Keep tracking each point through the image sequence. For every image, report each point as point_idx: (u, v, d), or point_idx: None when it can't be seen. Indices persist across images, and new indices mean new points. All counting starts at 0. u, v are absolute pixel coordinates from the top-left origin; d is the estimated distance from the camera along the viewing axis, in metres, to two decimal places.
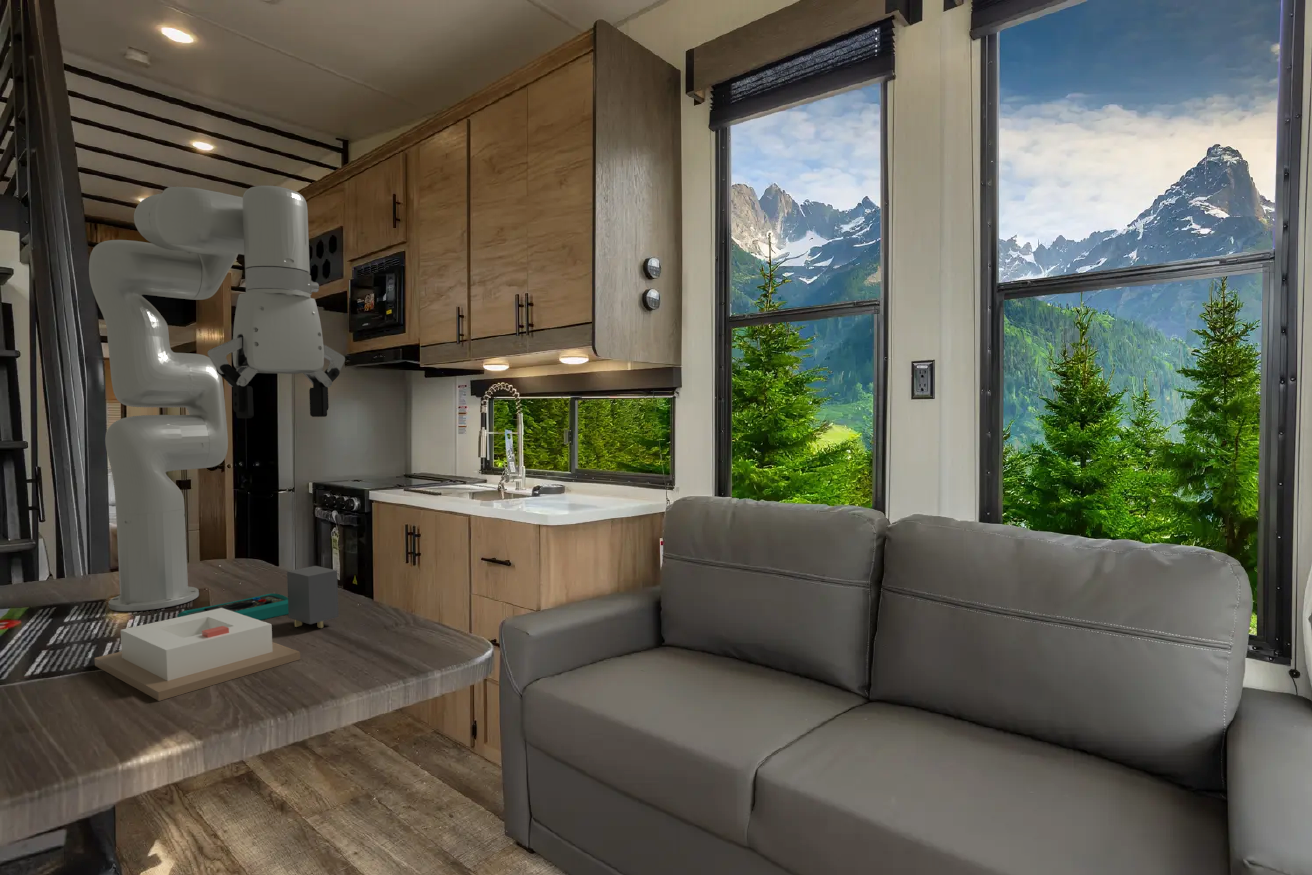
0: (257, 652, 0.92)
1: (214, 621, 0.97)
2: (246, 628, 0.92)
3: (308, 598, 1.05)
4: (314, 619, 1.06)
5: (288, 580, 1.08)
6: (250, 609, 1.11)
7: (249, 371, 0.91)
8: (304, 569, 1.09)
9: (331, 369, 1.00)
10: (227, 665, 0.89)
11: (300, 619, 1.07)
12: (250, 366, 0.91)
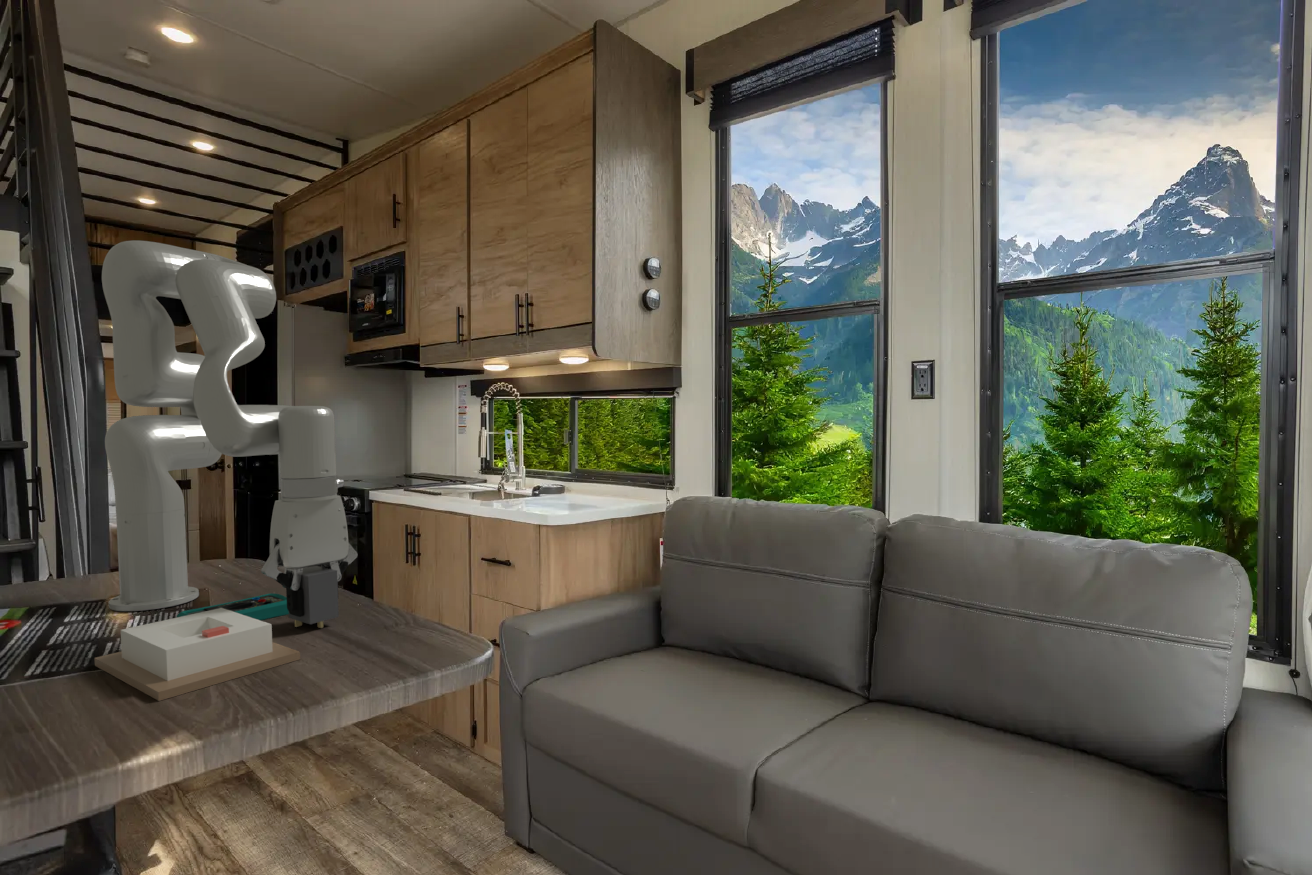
0: (257, 652, 0.92)
1: (214, 621, 0.97)
2: (246, 628, 0.92)
3: (308, 598, 1.05)
4: (314, 619, 1.06)
5: None
6: (249, 609, 1.11)
7: (296, 575, 1.05)
8: (304, 569, 1.09)
9: (340, 563, 1.12)
10: (227, 665, 0.89)
11: (300, 619, 1.07)
12: (295, 572, 1.05)
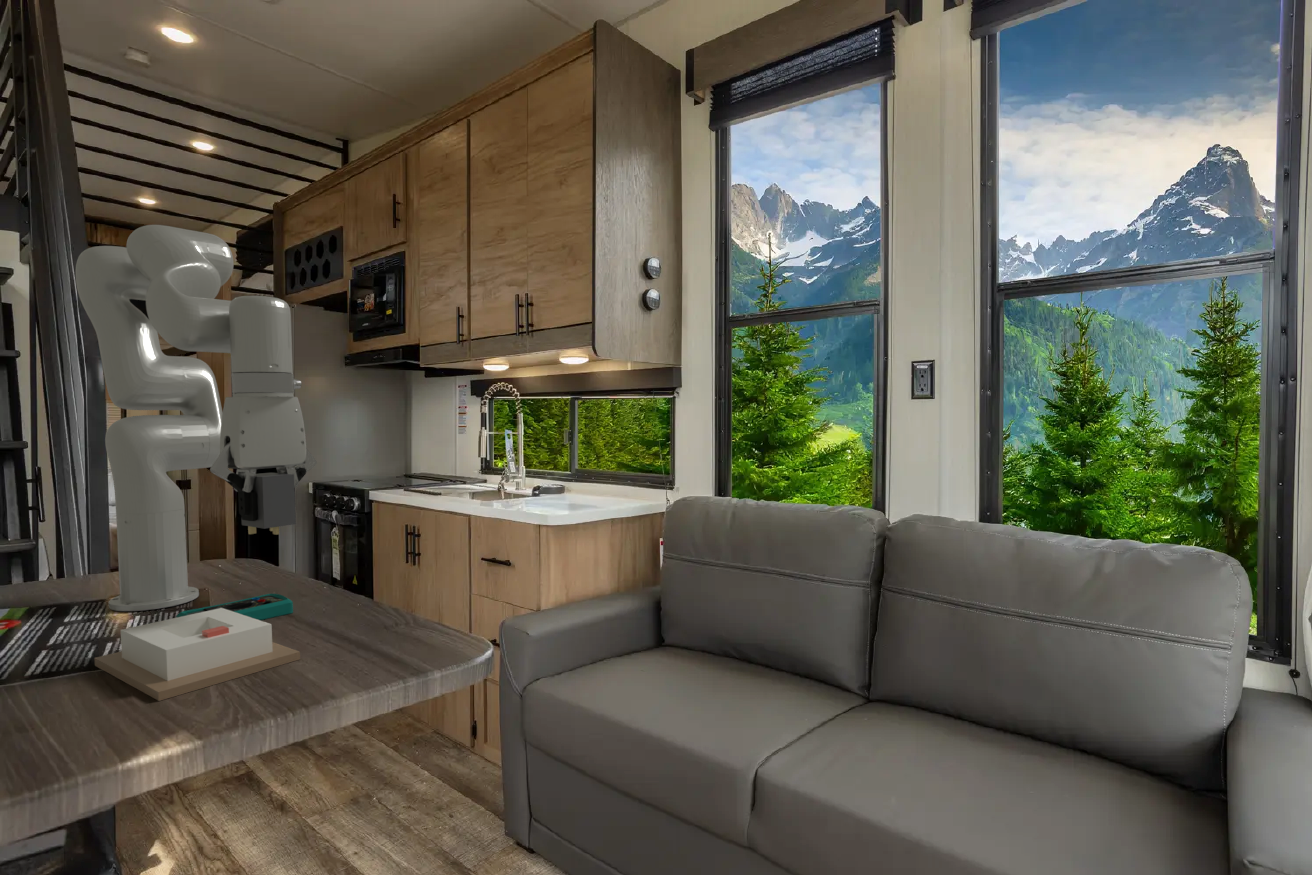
0: (257, 652, 0.92)
1: (214, 621, 0.97)
2: (246, 628, 0.92)
3: (262, 500, 0.98)
4: (269, 524, 0.99)
5: None
6: (249, 609, 1.11)
7: (249, 476, 0.98)
8: (258, 474, 1.03)
9: (298, 469, 1.05)
10: (227, 665, 0.89)
11: (254, 525, 1.00)
12: (248, 472, 0.98)
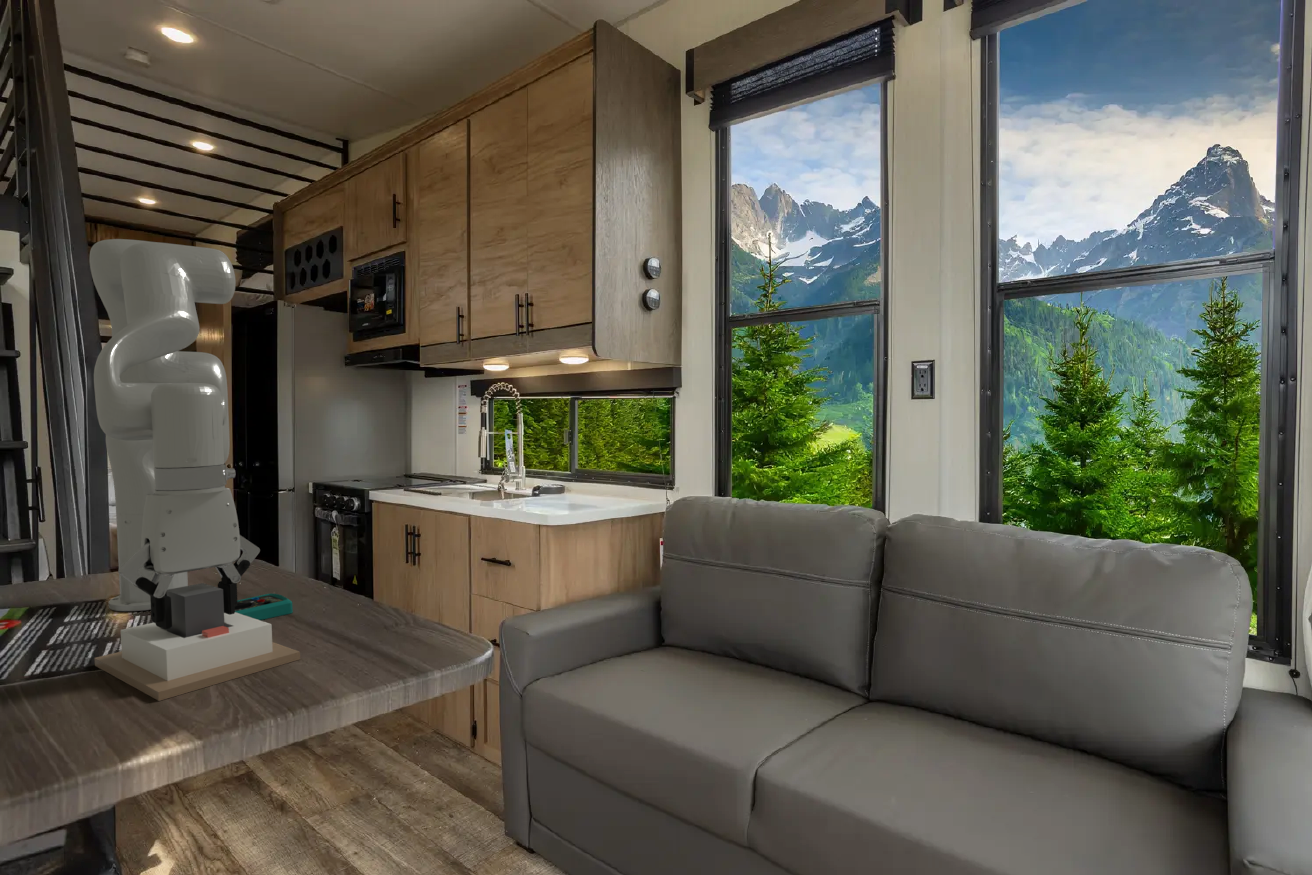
0: (257, 652, 0.92)
1: None
2: (246, 628, 0.92)
3: (185, 622, 0.89)
4: None
5: None
6: (248, 609, 1.11)
7: (164, 580, 0.89)
8: (186, 587, 0.94)
9: (241, 562, 0.97)
10: (227, 665, 0.89)
11: None
12: (163, 575, 0.89)
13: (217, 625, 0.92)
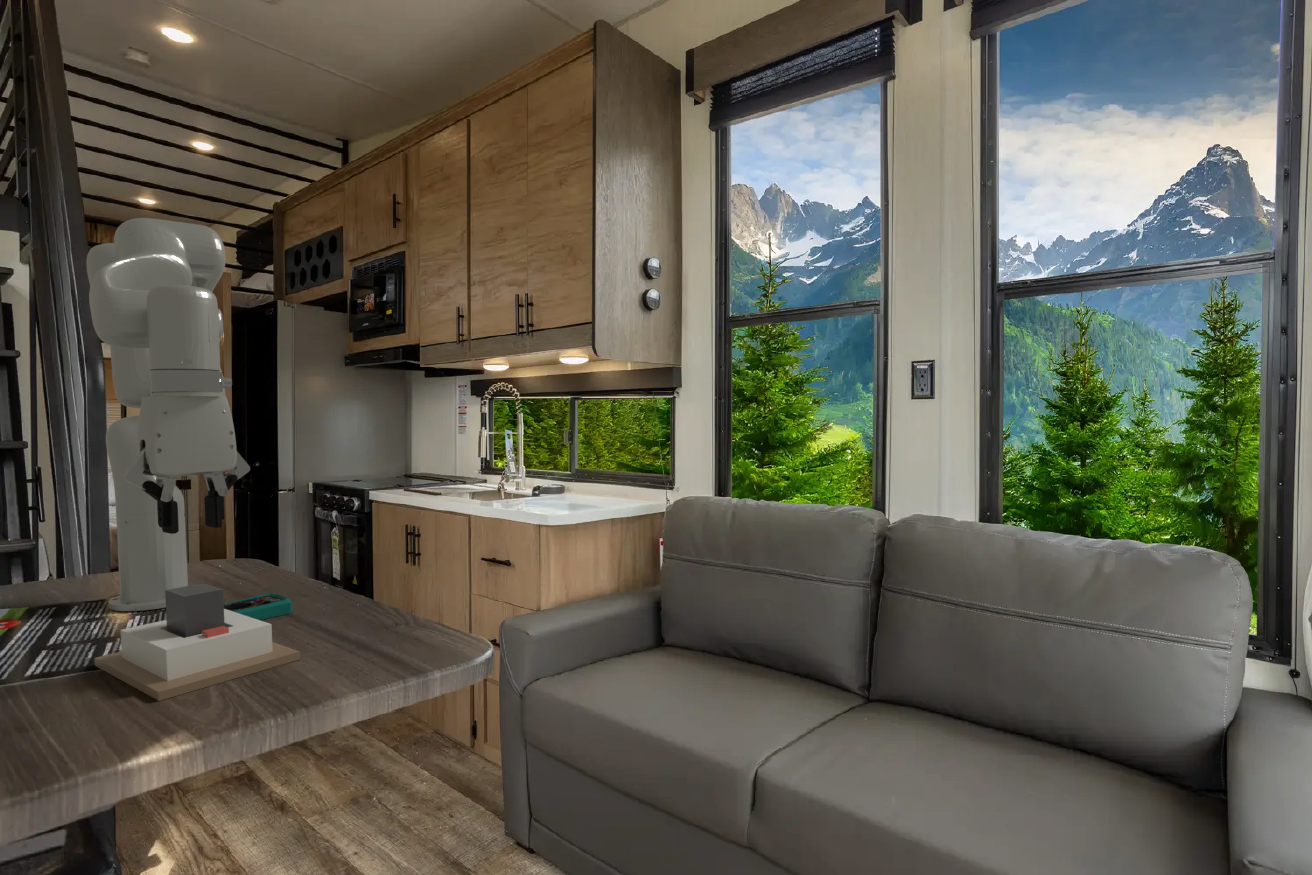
0: (257, 652, 0.92)
1: None
2: (246, 628, 0.92)
3: (185, 622, 0.89)
4: None
5: (166, 600, 0.93)
6: (248, 609, 1.11)
7: (167, 484, 0.89)
8: (186, 587, 0.94)
9: (228, 476, 0.95)
10: (227, 665, 0.89)
11: None
12: (166, 480, 0.89)
13: (217, 625, 0.92)
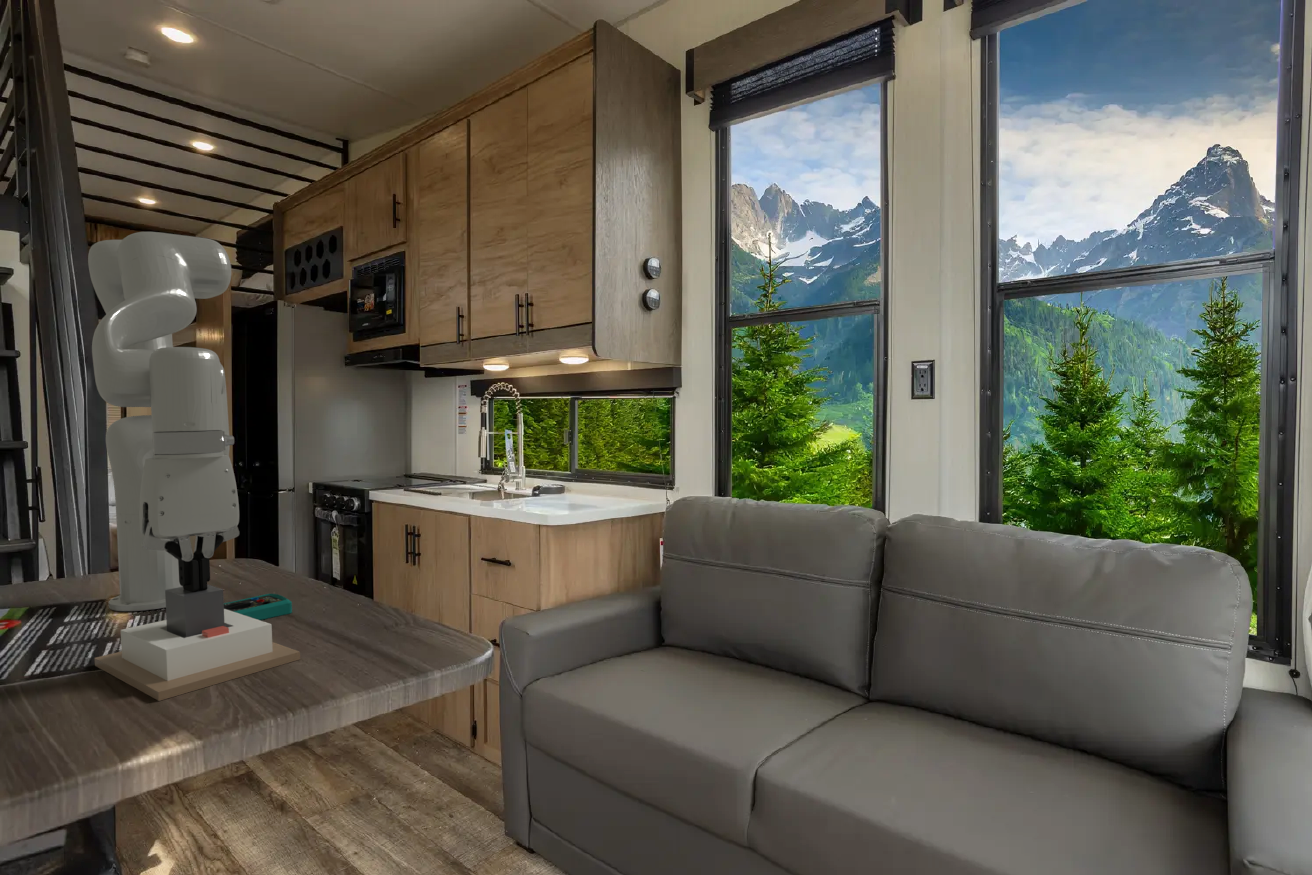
0: (257, 652, 0.92)
1: None
2: (246, 628, 0.92)
3: (185, 623, 0.89)
4: None
5: (166, 600, 0.93)
6: (248, 609, 1.11)
7: (184, 545, 0.90)
8: None
9: None
10: (227, 665, 0.89)
11: None
12: (180, 542, 0.90)
13: (217, 625, 0.92)
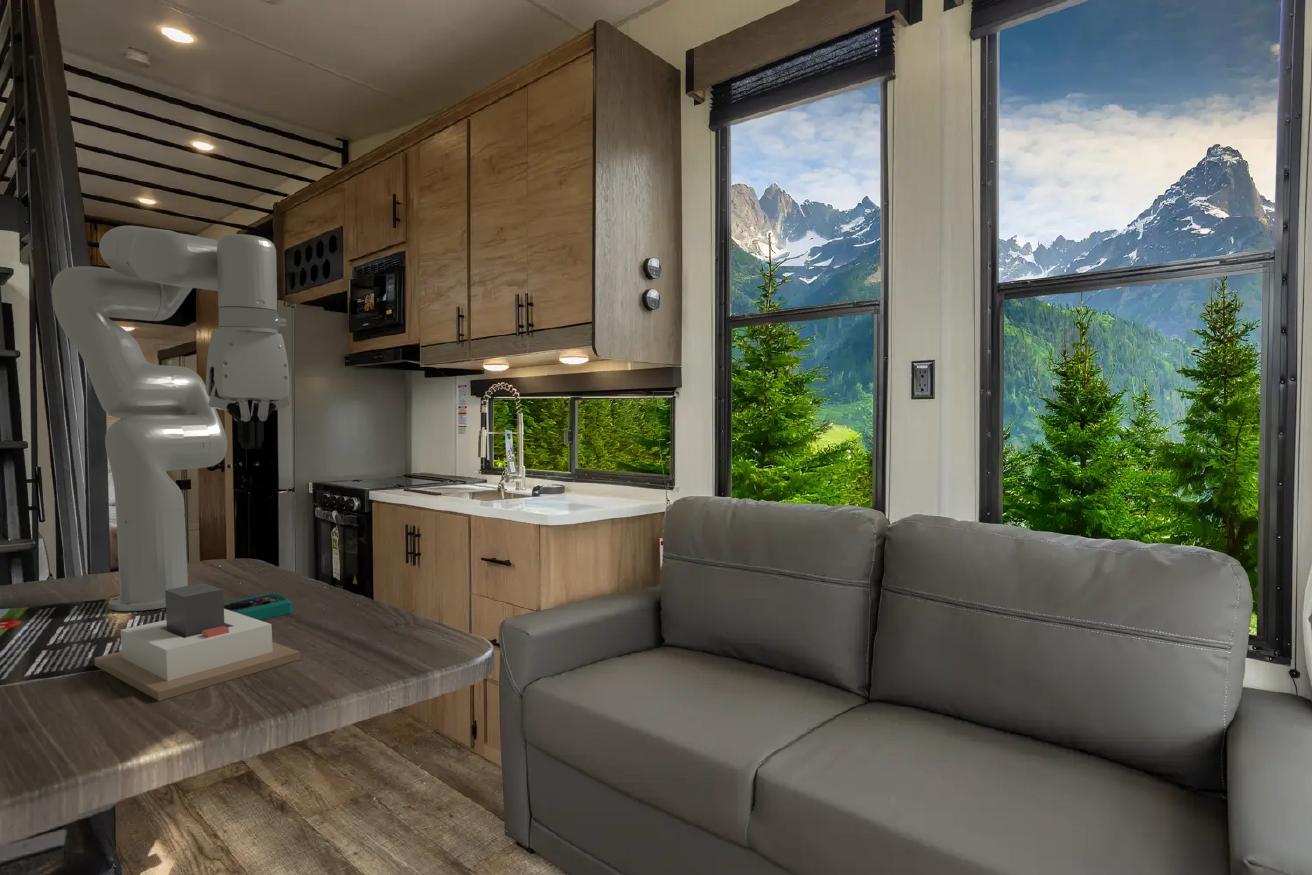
0: (257, 652, 0.92)
1: None
2: (246, 628, 0.92)
3: (185, 622, 0.89)
4: None
5: (166, 600, 0.93)
6: (247, 609, 1.11)
7: (243, 407, 1.05)
8: (186, 587, 0.94)
9: None
10: (227, 665, 0.89)
11: None
12: (240, 404, 1.04)
13: (217, 625, 0.92)
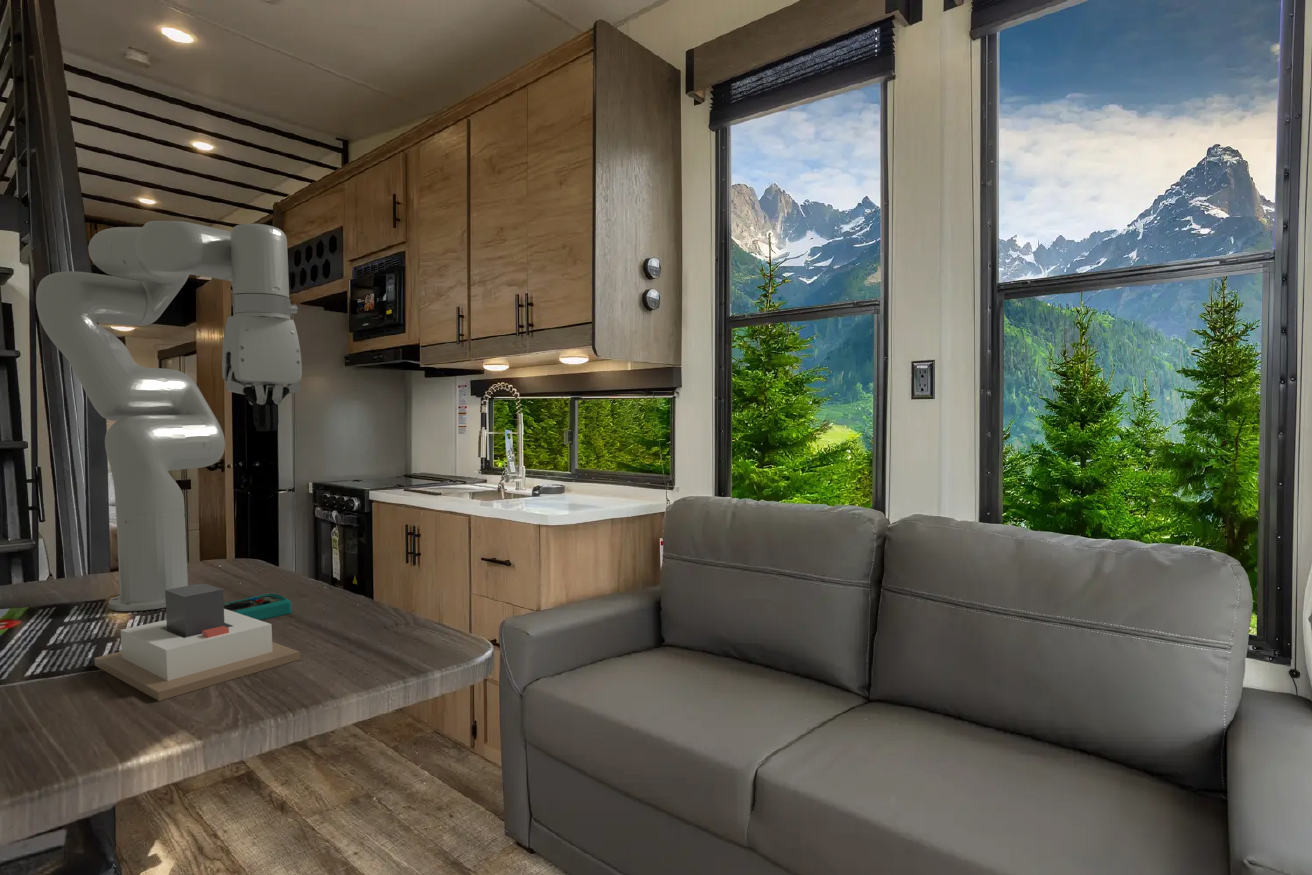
0: (257, 652, 0.92)
1: None
2: (246, 628, 0.92)
3: (185, 622, 0.89)
4: None
5: (166, 600, 0.93)
6: (247, 609, 1.11)
7: (258, 390, 1.08)
8: (186, 587, 0.94)
9: None
10: (227, 665, 0.89)
11: None
12: (256, 387, 1.08)
13: (217, 625, 0.92)
